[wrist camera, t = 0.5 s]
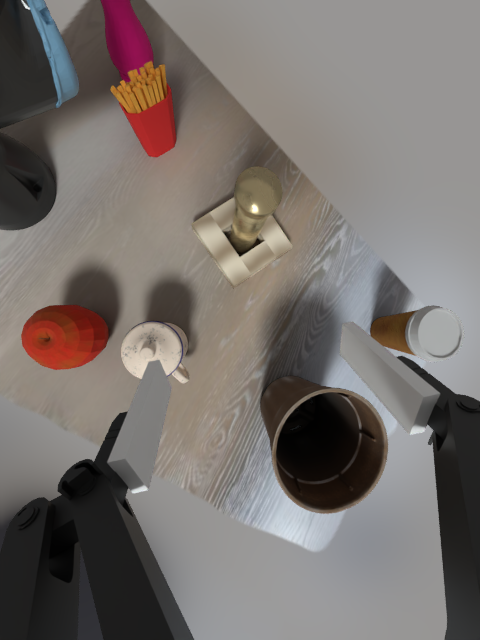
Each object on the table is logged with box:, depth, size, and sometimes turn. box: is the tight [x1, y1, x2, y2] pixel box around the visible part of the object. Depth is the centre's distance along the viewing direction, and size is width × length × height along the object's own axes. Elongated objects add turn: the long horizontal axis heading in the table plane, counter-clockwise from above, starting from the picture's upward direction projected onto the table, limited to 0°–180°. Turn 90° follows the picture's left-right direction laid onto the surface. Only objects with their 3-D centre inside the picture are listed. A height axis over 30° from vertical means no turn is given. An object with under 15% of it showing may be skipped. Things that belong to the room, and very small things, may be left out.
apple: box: [21, 305, 109, 370], centre depth 34 cm, size 10×10×12 cm
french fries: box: [110, 61, 176, 157], centre depth 35 cm, size 8×4×12 cm, turn 126°
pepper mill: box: [101, 0, 153, 83], centre depth 31 cm, size 7×7×20 cm
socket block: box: [192, 197, 293, 289], centre depth 42 cm, size 14×14×2 cm
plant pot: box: [260, 376, 388, 514], centre depth 36 cm, size 16×16×16 cm
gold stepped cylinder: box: [230, 166, 282, 253], centre depth 35 cm, size 6×6×16 cm
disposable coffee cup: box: [370, 306, 464, 362], centre depth 41 cm, size 10×10×12 cm
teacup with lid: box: [121, 321, 189, 383], centre depth 35 cm, size 12×9×12 cm
